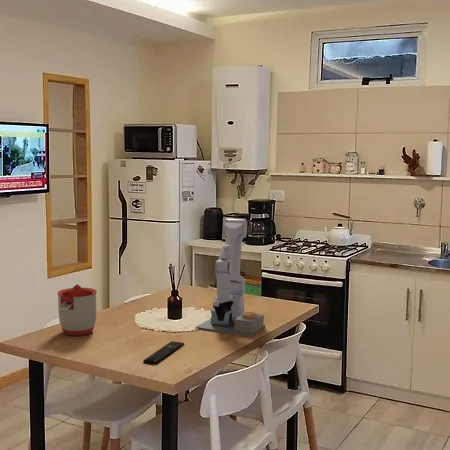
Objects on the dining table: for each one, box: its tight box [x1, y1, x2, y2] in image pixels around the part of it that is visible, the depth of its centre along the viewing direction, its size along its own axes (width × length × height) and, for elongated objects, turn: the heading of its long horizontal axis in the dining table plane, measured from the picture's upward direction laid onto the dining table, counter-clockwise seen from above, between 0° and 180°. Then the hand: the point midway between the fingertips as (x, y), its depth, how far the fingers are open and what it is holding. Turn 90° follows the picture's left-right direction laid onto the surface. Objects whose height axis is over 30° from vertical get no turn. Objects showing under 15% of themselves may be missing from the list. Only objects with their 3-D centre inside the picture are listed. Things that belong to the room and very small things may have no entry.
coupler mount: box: [195, 311, 266, 338], centre depth 263 cm, size 16×25×7 cm, turn 64°
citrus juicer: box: [57, 284, 98, 337], centre depth 253 cm, size 16×17×20 cm
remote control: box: [142, 340, 185, 366], centre depth 230 cm, size 5×24×1 cm, turn 160°
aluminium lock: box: [210, 308, 234, 326], centre depth 264 cm, size 5×8×7 cm, turn 64°
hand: (223, 319), depth 264 cm, fingers closed on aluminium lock, 5 cm apart
